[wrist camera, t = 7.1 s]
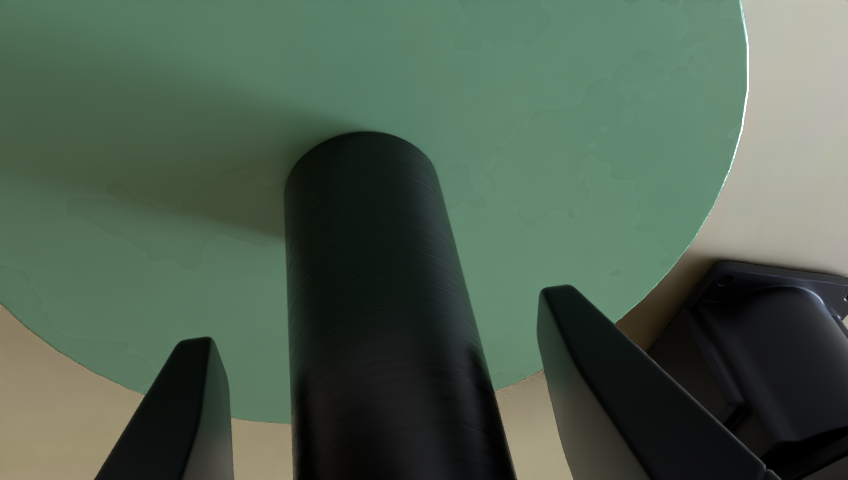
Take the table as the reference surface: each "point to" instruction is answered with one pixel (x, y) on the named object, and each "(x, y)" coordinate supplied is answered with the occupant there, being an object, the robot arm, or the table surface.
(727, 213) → the table surface
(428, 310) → the lid
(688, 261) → the table surface
